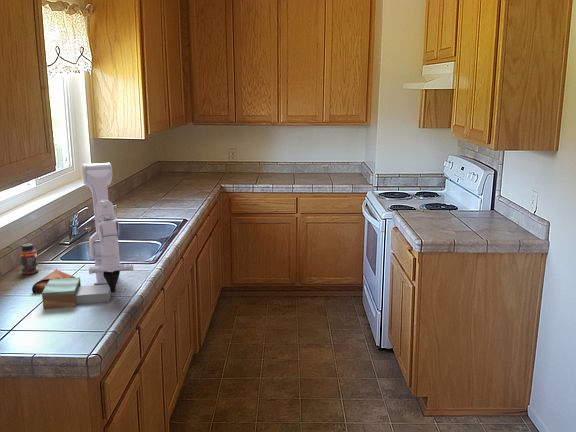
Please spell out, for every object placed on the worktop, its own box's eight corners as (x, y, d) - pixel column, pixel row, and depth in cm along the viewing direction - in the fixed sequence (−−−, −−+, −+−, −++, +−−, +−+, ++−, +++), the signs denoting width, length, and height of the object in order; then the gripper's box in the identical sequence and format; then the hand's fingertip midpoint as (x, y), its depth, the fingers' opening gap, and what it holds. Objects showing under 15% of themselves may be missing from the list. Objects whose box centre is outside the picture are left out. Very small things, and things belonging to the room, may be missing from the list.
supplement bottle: (42, 271, 218) (39, 243, 216) (29, 275, 213) (25, 247, 210) (31, 269, 221) (28, 241, 218) (18, 273, 216) (15, 245, 213)
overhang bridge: (51, 294, 194) (49, 279, 193) (81, 292, 196) (80, 277, 195) (43, 308, 181) (41, 293, 180) (75, 306, 183) (74, 290, 182)
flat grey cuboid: (69, 295, 193) (69, 287, 193) (111, 291, 196) (111, 283, 196) (65, 304, 185) (64, 296, 184) (109, 301, 188) (108, 293, 187)
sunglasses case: (55, 293, 195) (44, 277, 193) (39, 302, 196) (28, 287, 195) (76, 276, 212) (66, 262, 211) (62, 285, 213) (51, 270, 212)
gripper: (86, 259, 183) (89, 297, 186) (131, 256, 186) (134, 294, 190) (89, 252, 190) (92, 290, 193) (132, 250, 193) (135, 286, 196)
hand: (113, 291), depth 192 cm, fingers closed
